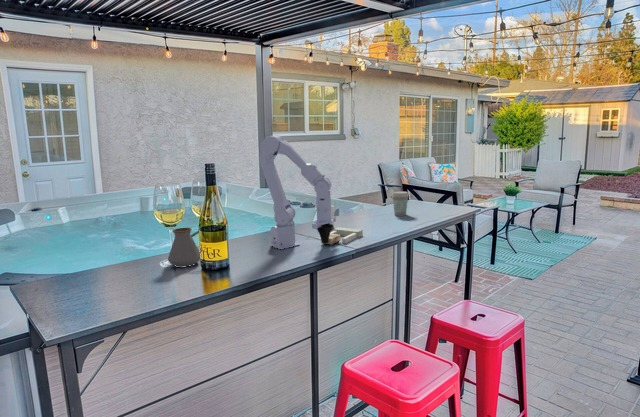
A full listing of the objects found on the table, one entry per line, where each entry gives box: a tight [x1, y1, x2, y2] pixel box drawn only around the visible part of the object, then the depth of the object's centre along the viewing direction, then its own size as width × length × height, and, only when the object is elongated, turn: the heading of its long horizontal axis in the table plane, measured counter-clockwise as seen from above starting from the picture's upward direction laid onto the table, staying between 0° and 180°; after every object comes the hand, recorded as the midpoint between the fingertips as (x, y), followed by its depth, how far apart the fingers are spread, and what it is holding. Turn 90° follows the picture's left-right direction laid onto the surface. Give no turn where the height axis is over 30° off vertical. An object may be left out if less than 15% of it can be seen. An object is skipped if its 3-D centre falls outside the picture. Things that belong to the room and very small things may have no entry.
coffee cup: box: [391, 190, 409, 217], centre depth 223 cm, size 8×8×12 cm
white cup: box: [330, 204, 335, 228], centre depth 202 cm, size 8×8×10 cm
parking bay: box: [330, 227, 363, 244], centre depth 181 cm, size 14×12×2 cm
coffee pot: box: [167, 227, 201, 266], centre depth 154 cm, size 21×12×15 cm, turn 128°
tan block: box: [320, 234, 342, 246], centre depth 173 cm, size 7×5×3 cm
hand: (325, 242), depth 169 cm, fingers closed
